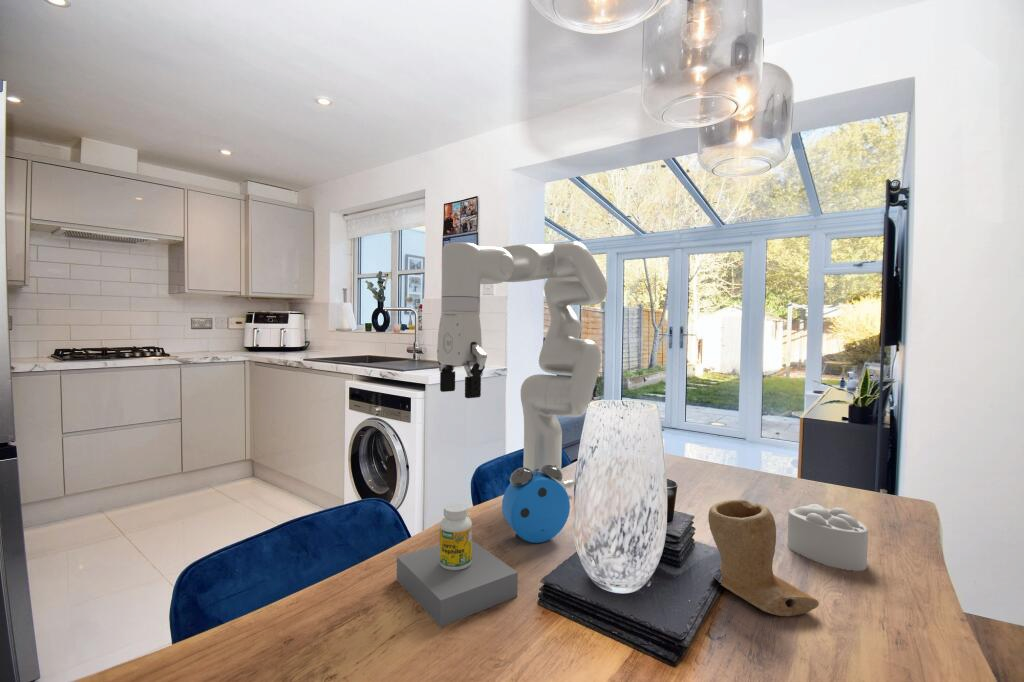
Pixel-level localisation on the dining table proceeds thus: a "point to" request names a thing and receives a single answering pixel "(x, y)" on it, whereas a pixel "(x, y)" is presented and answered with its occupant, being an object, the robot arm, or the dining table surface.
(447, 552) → the supplement bottle
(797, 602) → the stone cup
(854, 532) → the lumpy-topped squat cylinder
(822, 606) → the dining table surface
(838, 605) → the dining table surface
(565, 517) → the alarm clock
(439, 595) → the riser block
